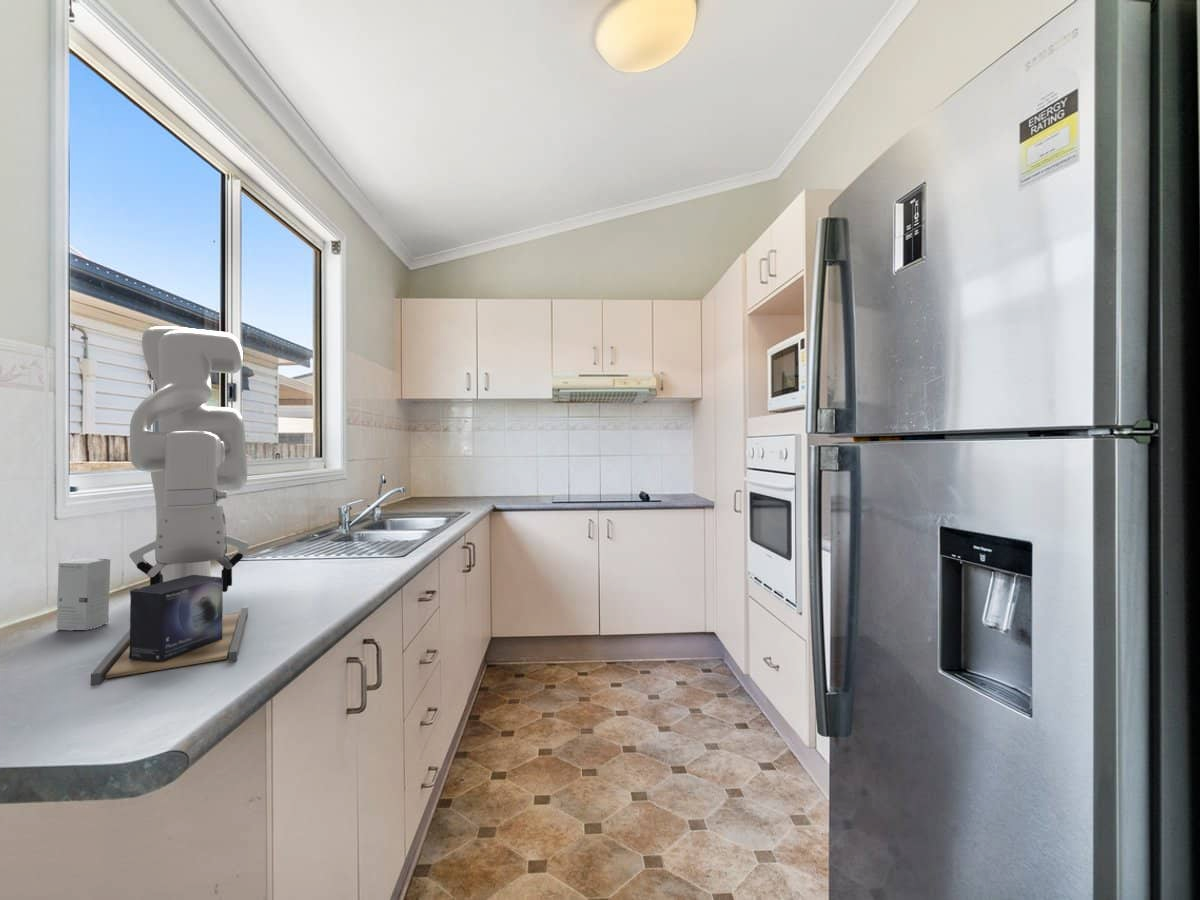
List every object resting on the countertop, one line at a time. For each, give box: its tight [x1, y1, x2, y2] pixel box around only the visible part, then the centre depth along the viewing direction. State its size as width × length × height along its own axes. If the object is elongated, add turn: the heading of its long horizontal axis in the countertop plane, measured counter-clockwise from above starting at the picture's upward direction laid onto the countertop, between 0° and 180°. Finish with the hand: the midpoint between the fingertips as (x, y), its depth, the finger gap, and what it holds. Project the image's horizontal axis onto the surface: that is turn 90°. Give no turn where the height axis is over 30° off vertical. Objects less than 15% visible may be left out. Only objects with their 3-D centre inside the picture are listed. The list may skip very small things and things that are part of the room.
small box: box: [129, 575, 224, 662], centre depth 85 cm, size 11×6×10 cm, turn 169°
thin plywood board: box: [105, 613, 240, 679], centre depth 90 cm, size 24×14×6 cm, turn 30°
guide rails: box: [90, 607, 249, 686], centre depth 90 cm, size 26×17×2 cm, turn 30°
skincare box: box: [56, 557, 111, 631], centre depth 98 cm, size 6×4×12 cm
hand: (192, 594), depth 98 cm, fingers open, 9 cm apart
